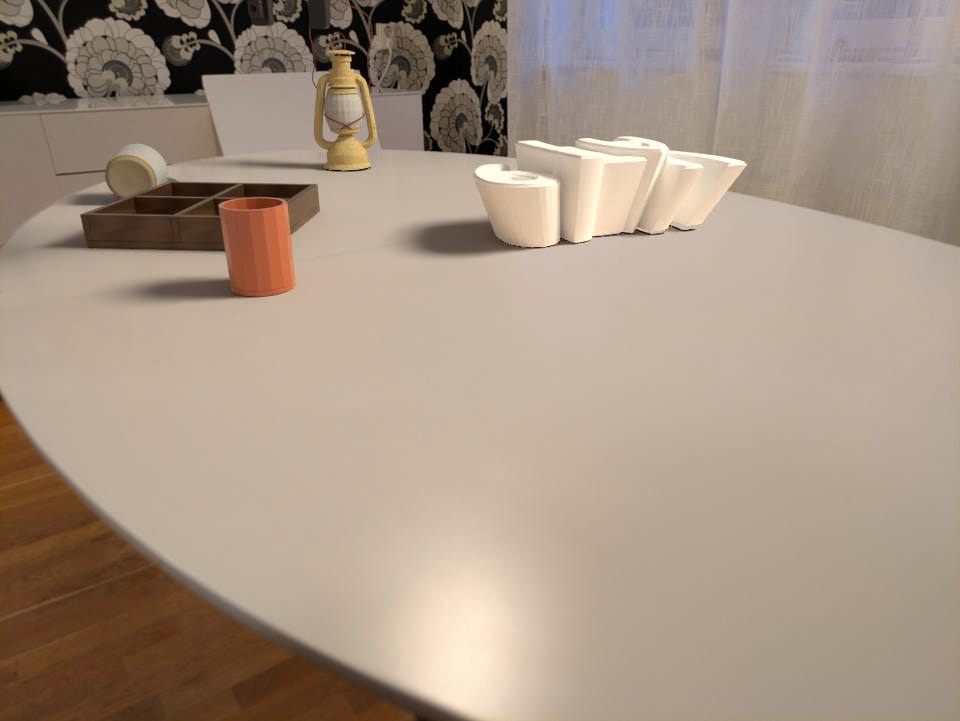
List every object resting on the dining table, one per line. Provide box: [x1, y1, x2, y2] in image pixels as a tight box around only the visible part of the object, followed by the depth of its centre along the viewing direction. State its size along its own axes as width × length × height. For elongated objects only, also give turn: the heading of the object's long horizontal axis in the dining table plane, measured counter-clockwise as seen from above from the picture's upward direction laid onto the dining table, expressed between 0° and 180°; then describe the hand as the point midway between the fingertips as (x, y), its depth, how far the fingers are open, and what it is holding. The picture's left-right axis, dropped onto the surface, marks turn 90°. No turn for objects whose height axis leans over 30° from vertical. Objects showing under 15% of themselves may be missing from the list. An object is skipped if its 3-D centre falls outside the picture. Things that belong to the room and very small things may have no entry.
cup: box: [218, 197, 297, 297], centre depth 63 cm, size 6×6×8 cm
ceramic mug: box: [104, 143, 182, 200], centre depth 101 cm, size 11×8×8 cm
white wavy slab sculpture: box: [472, 135, 748, 249], centre depth 85 cm, size 35×16×10 cm, turn 111°
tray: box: [79, 181, 321, 251], centre depth 86 cm, size 21×21×4 cm
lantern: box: [308, 0, 378, 170], centre depth 125 cm, size 12×10×30 cm
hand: (293, 27), depth 68 cm, fingers open, 8 cm apart
